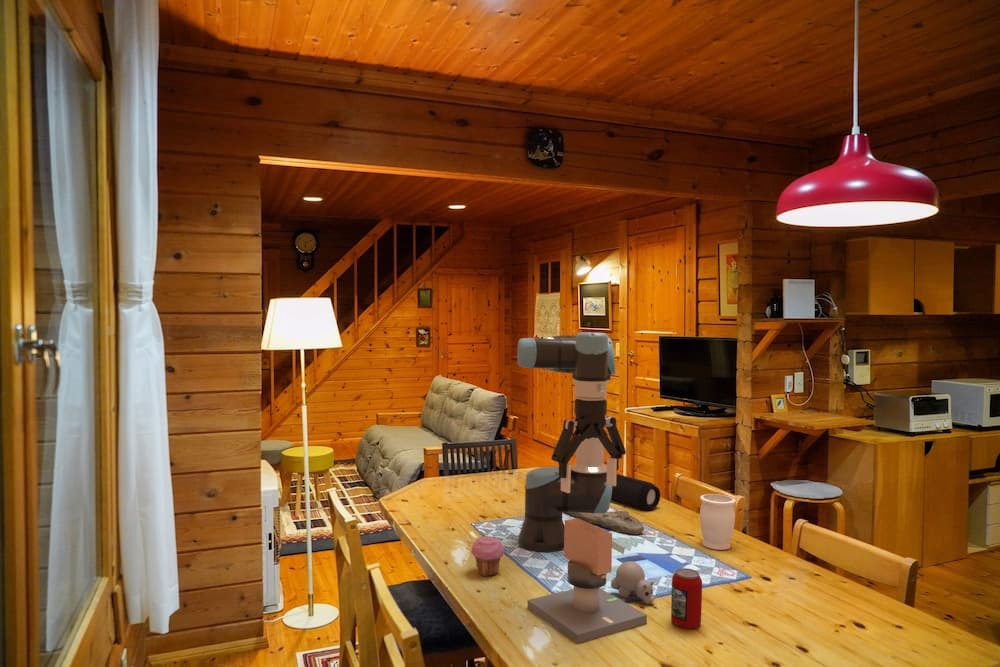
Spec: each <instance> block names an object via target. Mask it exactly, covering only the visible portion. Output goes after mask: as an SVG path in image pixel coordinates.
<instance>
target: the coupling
mask: <svg viewBox="0 0 1000 667" xmlns="http://www.w3.org/2000/svg"><path fill="white" fill-rule="evenodd" d="M563 558H564V559H567V560H568V561H567V582H568V584H569V585H570V586H571V585H572V586H573V587H574V586H575V587H579V588H584V589H595V588H603V587H604V586H606V582H607V574H609V573H612V558H613V532H610V531H608V530H606V529H603V528H601V527H600V526H597V525H596V524H593V523H589V522H587V521H585V520H583V519H579V518H577V517H575V518H570V519H565V520H564V549H563Z"/></svg>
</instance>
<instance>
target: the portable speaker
mask: <svg viewBox="0 0 1000 667" xmlns="http://www.w3.org/2000/svg"><path fill="white" fill-rule="evenodd" d="M660 500H661V491H660V488H659V487H657V485H656V484H654V483H652V482H650V481H646V480H641V479H639V478H638V479H637V478H634V477H630V476H626V475H622V474H618V473H616V486H612V495H611V501H615V502H618V503H620V504H624V505H628V506H631V507H635V508H639V509H642V510H653V509H656V508H657V506H658V505H659V502H660Z"/></svg>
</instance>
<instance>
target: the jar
mask: <svg viewBox="0 0 1000 667" xmlns="http://www.w3.org/2000/svg"><path fill="white" fill-rule="evenodd" d="M700 501H701V504H700V510H699V523H700V531H701V534H702V537H703V541H702V546H704V547H705V548H708V549H710V550H715V551H725V550H729V549H731V544H730V541H731V539H732V537H733V533H734V527H735V521H736V517H735V516H736V514H735V508H734V505H736V499H735V498H733V497H732V496H728V495H724V494H718V493H708V494H703V495H700Z"/></svg>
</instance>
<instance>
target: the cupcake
mask: <svg viewBox="0 0 1000 667" xmlns="http://www.w3.org/2000/svg"><path fill="white" fill-rule="evenodd" d="M504 554H505V548H504V544H503V542H502V541H501V540H499V539H498V538H496V537H494V536H485V535H484V536H481V537H477V538H476V540H475V541H474V543H473V545H472V547H471V555H472V556H473V557H474V559H475V561H476V568H477V570H478V573H479V574H480V575H481V576H483V577H487V576H493V575H497V574H498V573H499V571H500V569H499V568H500V562H501V558H502V557H503V556H504Z"/></svg>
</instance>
